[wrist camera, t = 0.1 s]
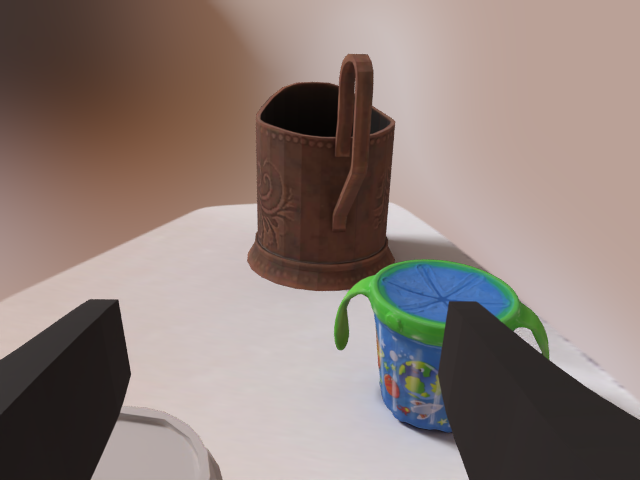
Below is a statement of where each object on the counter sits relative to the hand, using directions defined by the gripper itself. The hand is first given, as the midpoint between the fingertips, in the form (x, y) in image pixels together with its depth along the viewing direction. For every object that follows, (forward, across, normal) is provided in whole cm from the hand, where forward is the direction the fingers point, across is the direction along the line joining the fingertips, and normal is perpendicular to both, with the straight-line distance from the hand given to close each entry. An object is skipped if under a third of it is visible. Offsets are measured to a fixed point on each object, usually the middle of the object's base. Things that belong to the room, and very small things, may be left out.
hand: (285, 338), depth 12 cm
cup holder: (+47, -3, +25) cm, 54 cm away
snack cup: (+22, -10, +23) cm, 34 cm away
